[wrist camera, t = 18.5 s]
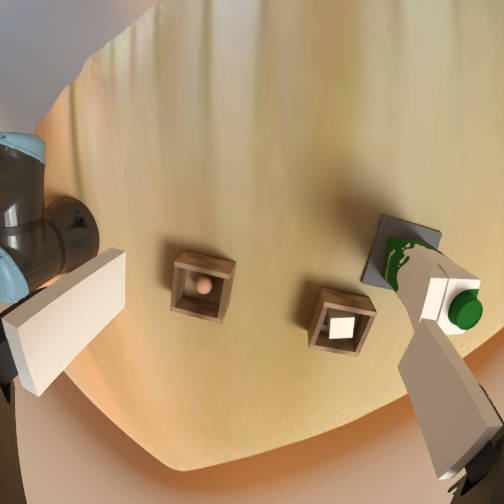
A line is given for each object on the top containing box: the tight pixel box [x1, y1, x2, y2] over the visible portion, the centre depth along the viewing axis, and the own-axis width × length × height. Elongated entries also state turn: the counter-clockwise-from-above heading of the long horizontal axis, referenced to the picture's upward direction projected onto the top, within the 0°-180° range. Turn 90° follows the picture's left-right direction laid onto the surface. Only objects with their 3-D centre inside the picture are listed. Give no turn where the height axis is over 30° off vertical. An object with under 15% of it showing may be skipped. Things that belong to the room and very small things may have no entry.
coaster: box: [361, 215, 442, 290], centre depth 47 cm, size 12×12×1 cm
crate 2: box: [308, 287, 377, 356], centre depth 49 cm, size 9×9×6 cm
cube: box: [327, 307, 355, 339], centre depth 49 cm, size 4×4×4 cm
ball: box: [195, 276, 213, 294], centre depth 51 cm, size 3×3×3 cm
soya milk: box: [382, 238, 483, 335], centre depth 37 cm, size 9×9×20 cm
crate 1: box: [170, 251, 236, 324], centre depth 50 cm, size 9×9×6 cm
